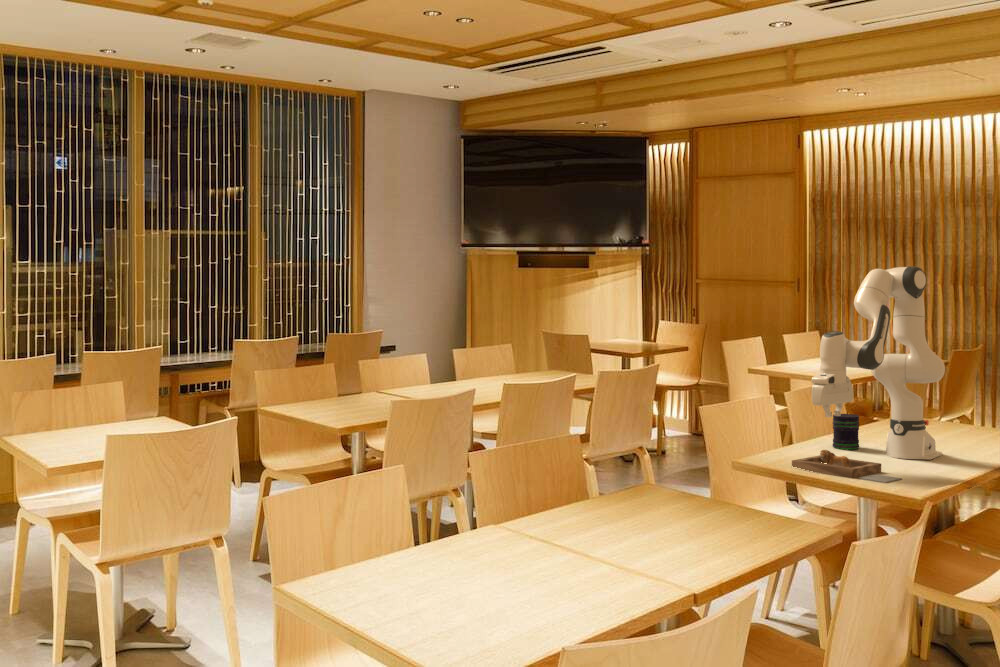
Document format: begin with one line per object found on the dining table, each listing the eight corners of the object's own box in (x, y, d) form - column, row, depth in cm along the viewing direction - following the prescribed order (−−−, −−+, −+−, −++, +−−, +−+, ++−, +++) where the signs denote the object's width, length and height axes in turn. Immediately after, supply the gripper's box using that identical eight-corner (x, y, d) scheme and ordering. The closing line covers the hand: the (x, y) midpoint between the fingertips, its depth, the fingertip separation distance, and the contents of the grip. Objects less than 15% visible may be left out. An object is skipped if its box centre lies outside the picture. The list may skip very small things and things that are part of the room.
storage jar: (862, 455, 371) (863, 416, 370) (837, 455, 371) (837, 416, 371) (853, 451, 381) (854, 413, 380) (829, 451, 381) (829, 413, 380)
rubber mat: (874, 475, 329) (874, 474, 329) (901, 479, 321) (902, 478, 321) (858, 478, 323) (858, 477, 323) (885, 483, 315) (885, 481, 315)
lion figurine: (818, 470, 339) (818, 450, 339) (821, 468, 343) (821, 448, 343) (854, 473, 333) (854, 452, 333) (856, 471, 337) (856, 450, 337)
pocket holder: (821, 463, 354) (821, 455, 354) (881, 472, 335) (881, 463, 335) (791, 468, 343) (791, 460, 343) (851, 478, 324) (851, 469, 324)
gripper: (842, 375, 347) (841, 413, 348) (808, 378, 335) (808, 418, 336) (857, 376, 342) (857, 414, 343) (824, 379, 330) (824, 419, 331)
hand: (832, 416), depth 339 cm, fingers open, 4 cm apart
